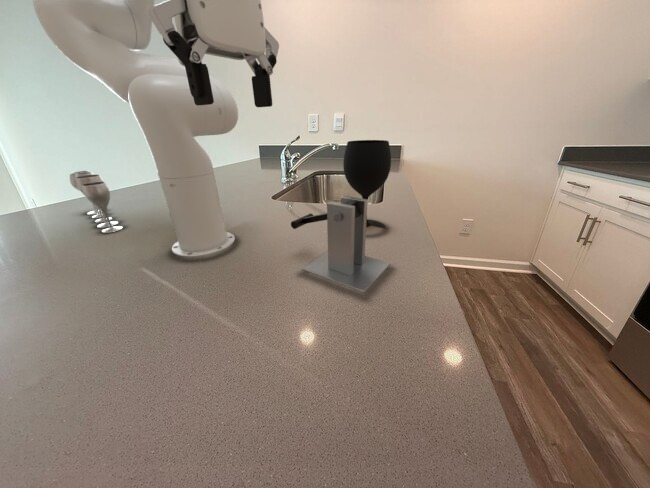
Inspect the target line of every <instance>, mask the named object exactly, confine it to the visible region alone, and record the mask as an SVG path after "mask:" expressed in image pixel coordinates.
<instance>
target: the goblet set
mask: <svg viewBox="0 0 650 488" xmlns="http://www.w3.org/2000/svg"><path fill="white" fill-rule="evenodd" d="M69 183H70V185H71V186H72V187H73V188H74V189H75V190H77V191H79V192H80V193H81V194H82V195H83V196H84V197H85V198H86V199H87V200H88V201H89V202H90V203H91V204H92V207H93V210H92V211H89V212H87V213H86V215H88V216H89V215H91V218H92V219H95V220H94V222H95V223H97V224H98V223H100V224H98V225H97V226H96V228H99V229H102V230H101V233H103V234H110V233H115V232H119V231H121V230H122V229H123V228H124V227H123V226H120V225H118V224H119V221H114V220H113V217H110V216H109V213H108V206H109V204H110V200H111V192H110V189H109V187H108V185H107V184H106V182H105V181H104V179H103V178H102V177H101V175H100V174H94V173H93V172H92V171H89V170H80V171H79V170H78V171H75V172H73V173H69ZM111 220H113V221H111Z"/></svg>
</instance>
